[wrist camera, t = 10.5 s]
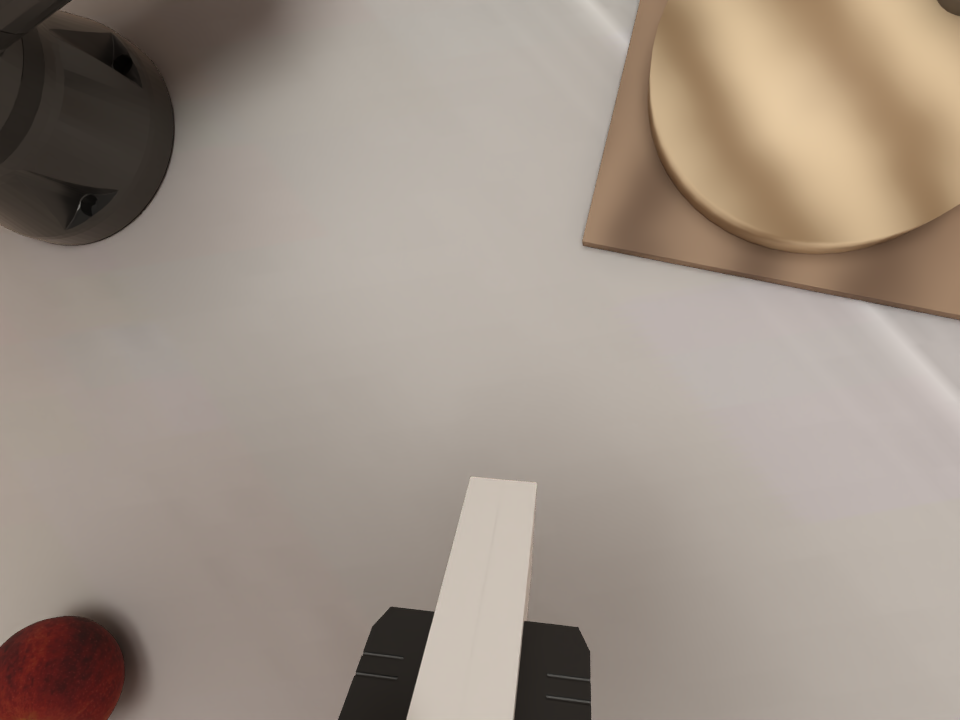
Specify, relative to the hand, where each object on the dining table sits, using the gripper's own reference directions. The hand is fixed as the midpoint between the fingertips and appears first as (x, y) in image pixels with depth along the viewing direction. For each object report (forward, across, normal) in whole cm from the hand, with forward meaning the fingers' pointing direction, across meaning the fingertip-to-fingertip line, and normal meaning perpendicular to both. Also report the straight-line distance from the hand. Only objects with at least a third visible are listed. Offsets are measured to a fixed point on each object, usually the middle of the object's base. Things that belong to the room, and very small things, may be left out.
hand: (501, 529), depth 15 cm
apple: (+16, -28, -27) cm, 42 cm away
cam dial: (+28, +14, +9) cm, 33 cm away
